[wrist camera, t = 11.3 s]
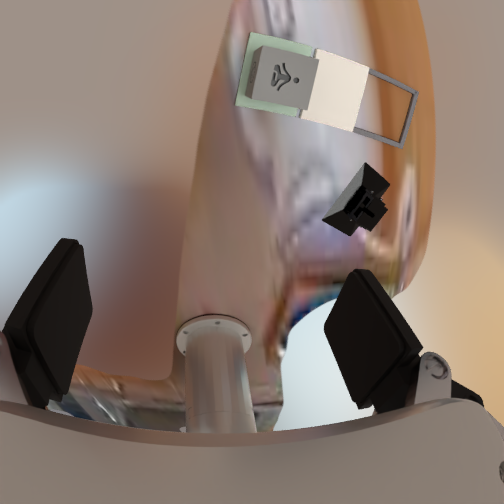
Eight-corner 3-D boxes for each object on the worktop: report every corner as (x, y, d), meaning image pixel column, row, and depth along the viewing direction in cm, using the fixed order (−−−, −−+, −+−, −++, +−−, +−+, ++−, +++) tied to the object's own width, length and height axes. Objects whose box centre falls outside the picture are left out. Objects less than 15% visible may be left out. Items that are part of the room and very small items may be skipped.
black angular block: (365, 147, 31) (385, 159, 27) (399, 177, 34) (418, 191, 30) (309, 224, 36) (321, 243, 33) (346, 245, 39) (360, 264, 36)
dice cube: (254, 50, 23) (262, 45, 18) (302, 61, 24) (319, 59, 20) (244, 95, 25) (251, 99, 21) (292, 104, 26) (307, 110, 22)
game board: (400, 148, 31) (403, 149, 30) (234, 105, 26) (235, 105, 26) (416, 91, 26) (419, 92, 26) (250, 33, 22) (250, 32, 21)
